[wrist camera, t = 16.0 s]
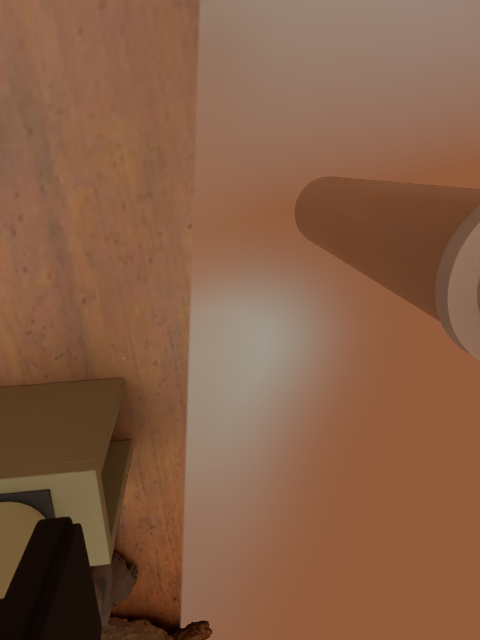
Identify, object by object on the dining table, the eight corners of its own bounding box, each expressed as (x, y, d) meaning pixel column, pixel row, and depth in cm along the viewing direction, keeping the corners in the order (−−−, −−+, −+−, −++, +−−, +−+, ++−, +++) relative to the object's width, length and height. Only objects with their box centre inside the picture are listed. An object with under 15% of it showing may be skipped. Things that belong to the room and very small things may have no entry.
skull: (109, 611, 53) (95, 726, 42) (-50, 561, 48) (-114, 678, 37) (159, 538, 51) (158, 639, 40) (-2, 477, 45) (-54, 575, 35)
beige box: (123, 377, 43) (86, 501, 27) (132, 450, 46) (103, 602, 30) (-9, 387, 42) (-129, 523, 26) (8, 461, 45) (-92, 625, 29)
